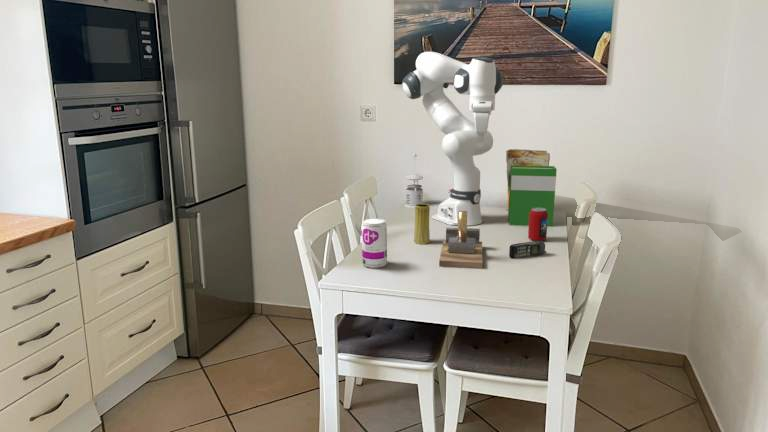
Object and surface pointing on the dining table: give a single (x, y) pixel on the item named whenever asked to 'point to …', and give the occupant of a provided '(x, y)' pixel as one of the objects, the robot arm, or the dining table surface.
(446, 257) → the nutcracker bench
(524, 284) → the dining table surface
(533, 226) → the beverage can
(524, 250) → the mobile phone
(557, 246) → the dining table surface
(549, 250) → the dining table surface
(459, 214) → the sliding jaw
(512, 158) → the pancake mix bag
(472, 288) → the dining table surface
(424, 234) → the vase
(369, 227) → the supplement can
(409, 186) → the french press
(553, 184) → the hardback book
